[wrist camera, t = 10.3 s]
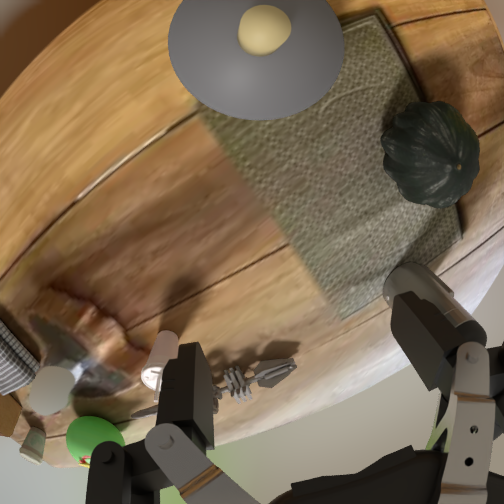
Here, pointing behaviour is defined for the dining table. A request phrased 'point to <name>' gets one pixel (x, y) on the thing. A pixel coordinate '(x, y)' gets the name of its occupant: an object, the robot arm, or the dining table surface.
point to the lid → (256, 54)
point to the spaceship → (242, 383)
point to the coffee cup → (33, 446)
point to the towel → (14, 363)
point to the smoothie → (159, 360)
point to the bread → (8, 414)
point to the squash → (431, 154)
